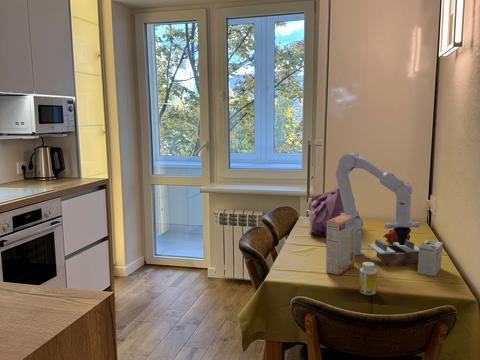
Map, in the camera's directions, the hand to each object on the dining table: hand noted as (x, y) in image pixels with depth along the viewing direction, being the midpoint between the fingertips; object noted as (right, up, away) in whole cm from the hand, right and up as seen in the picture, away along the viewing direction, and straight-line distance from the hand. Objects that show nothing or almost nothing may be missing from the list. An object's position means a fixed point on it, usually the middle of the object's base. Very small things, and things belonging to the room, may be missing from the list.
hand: (401, 244), depth 180 cm
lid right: (+3, -1, +1) cm, 3 cm away
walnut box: (-1, -7, +1) cm, 7 cm away
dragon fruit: (+6, -4, +23) cm, 24 cm away
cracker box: (-28, -9, -9) cm, 30 cm away
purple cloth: (-19, 0, +46) cm, 50 cm away
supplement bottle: (-23, -12, -31) cm, 41 cm away
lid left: (-9, -2, -1) cm, 9 cm away
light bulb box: (+7, -9, -11) cm, 16 cm away
